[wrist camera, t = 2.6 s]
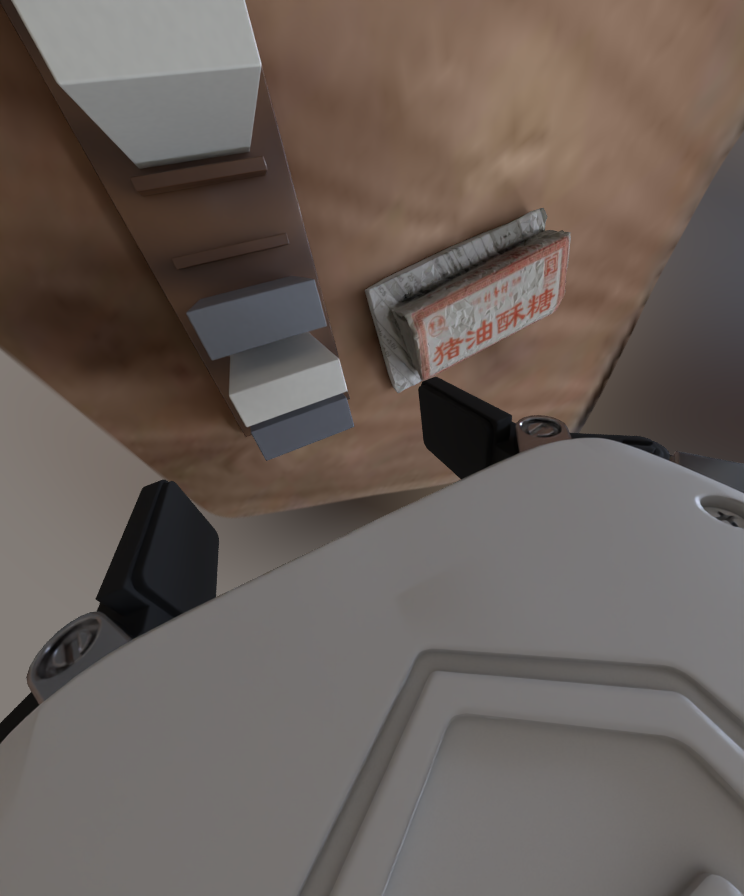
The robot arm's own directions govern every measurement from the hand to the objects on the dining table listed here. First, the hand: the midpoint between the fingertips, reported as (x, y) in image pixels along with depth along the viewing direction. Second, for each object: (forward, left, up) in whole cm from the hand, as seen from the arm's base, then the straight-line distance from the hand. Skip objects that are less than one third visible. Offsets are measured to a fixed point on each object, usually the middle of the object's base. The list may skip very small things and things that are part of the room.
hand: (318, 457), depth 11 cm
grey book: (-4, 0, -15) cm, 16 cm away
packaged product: (+1, +18, -16) cm, 24 cm away
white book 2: (0, 0, -15) cm, 15 cm away
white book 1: (-12, 0, -15) cm, 20 cm away
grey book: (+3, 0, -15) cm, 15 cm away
